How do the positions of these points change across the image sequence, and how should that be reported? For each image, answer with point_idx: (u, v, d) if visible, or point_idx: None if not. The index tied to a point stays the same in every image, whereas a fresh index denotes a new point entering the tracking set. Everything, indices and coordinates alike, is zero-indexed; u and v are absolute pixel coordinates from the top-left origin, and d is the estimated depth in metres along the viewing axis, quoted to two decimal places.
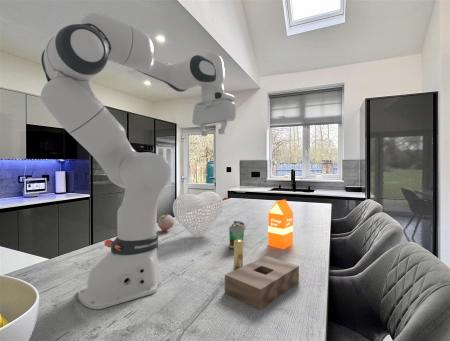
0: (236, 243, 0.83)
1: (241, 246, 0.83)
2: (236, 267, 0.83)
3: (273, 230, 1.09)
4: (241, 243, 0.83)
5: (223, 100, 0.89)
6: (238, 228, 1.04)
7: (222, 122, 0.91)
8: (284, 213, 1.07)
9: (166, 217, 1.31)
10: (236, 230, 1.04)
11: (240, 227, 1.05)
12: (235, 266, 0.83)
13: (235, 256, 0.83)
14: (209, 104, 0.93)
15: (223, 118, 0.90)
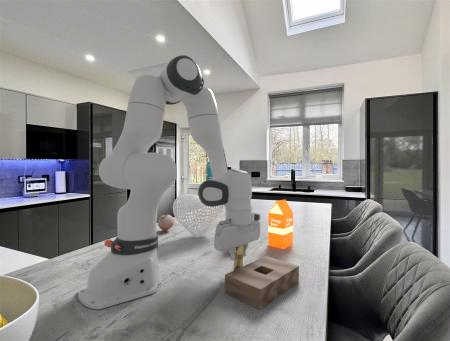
0: None
1: (241, 246, 0.83)
2: (236, 267, 0.83)
3: (273, 230, 1.09)
4: None
5: (258, 221, 0.88)
6: None
7: (247, 244, 0.86)
8: (284, 213, 1.07)
9: (166, 217, 1.31)
10: None
11: None
12: (235, 266, 0.83)
13: None
14: (247, 226, 0.83)
15: (255, 239, 0.88)
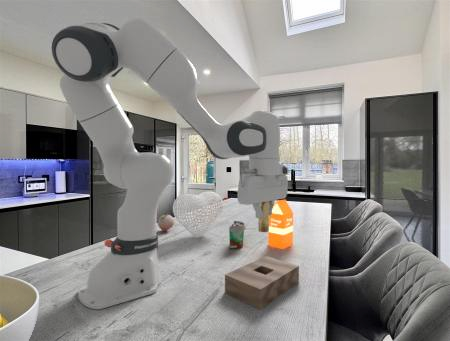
0: None
1: (268, 202, 0.71)
2: (262, 227, 0.71)
3: (273, 230, 1.09)
4: None
5: (286, 176, 0.76)
6: (238, 228, 1.04)
7: (273, 202, 0.74)
8: (284, 213, 1.07)
9: (166, 217, 1.31)
10: (236, 230, 1.04)
11: (240, 227, 1.05)
12: (260, 226, 0.71)
13: None
14: (275, 179, 0.71)
15: (282, 197, 0.76)
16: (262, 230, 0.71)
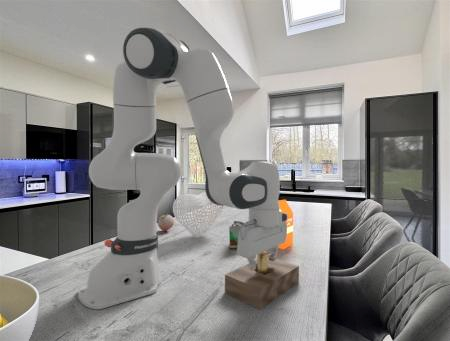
0: (260, 256, 0.71)
1: (266, 260, 0.71)
2: None
3: None
4: (266, 256, 0.71)
5: (285, 222, 0.76)
6: (238, 228, 1.04)
7: (277, 247, 0.76)
8: None
9: (166, 217, 1.31)
10: (236, 230, 1.04)
11: (240, 227, 1.05)
12: None
13: (259, 271, 0.71)
14: (274, 228, 0.71)
15: (281, 242, 0.76)
16: None
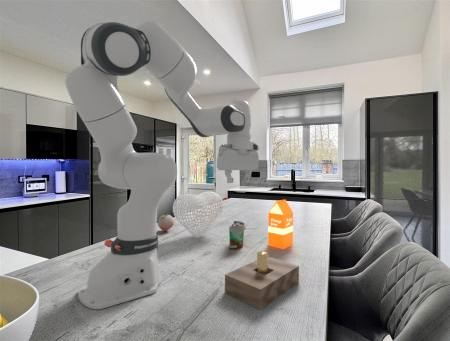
0: (260, 256, 0.71)
1: (266, 260, 0.71)
2: None
3: (273, 230, 1.09)
4: (266, 256, 0.71)
5: (256, 152, 0.97)
6: (238, 228, 1.04)
7: (250, 171, 0.97)
8: (284, 213, 1.07)
9: (166, 217, 1.31)
10: (236, 230, 1.04)
11: (240, 227, 1.05)
12: None
13: (259, 271, 0.71)
14: (246, 152, 0.92)
15: (254, 168, 0.97)
16: None
